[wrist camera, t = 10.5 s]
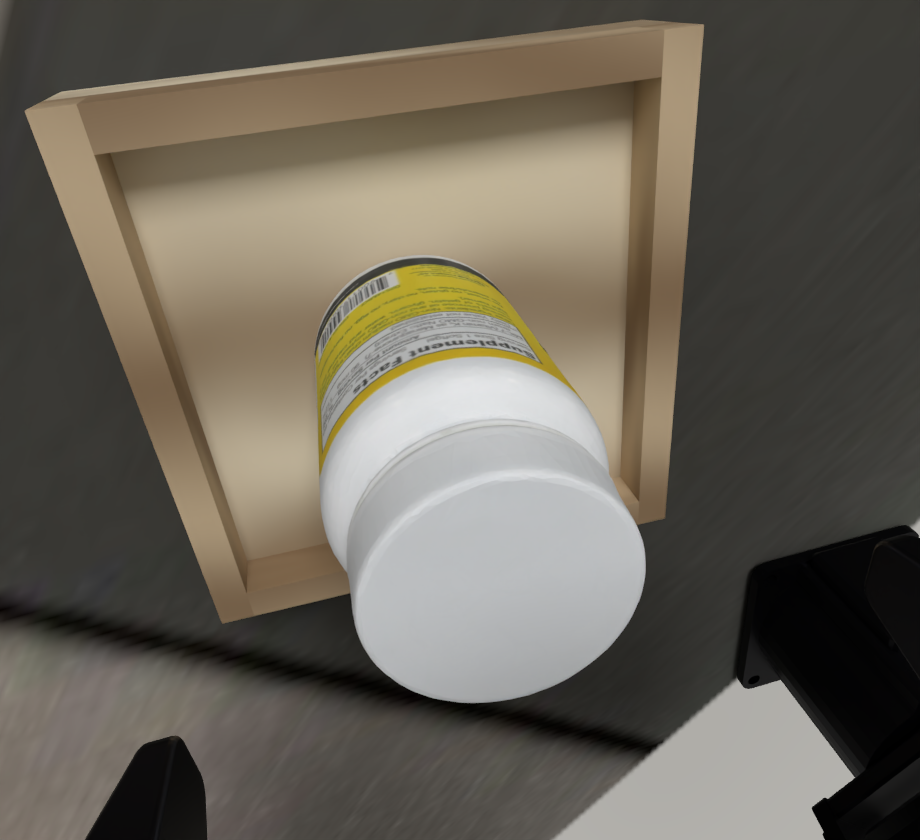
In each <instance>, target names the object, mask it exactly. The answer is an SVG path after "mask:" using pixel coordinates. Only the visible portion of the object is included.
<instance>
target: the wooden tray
mask: <svg viewBox="0 0 920 840" xmlns="http://www.w3.org/2000/svg"><path fill="white" fill-rule="evenodd" d="M703 31H704V25H701V24H688V23H676V22H663V21H650V20H636V21H628V22H620V23H612V24H604V25H596V26H588V27H580V28H572V29H564V30H556V31H548V32H540V33H532V34H523V35H515V36H507V37H499V38H491V39H483V40H475V41H467V42H459V43H451V44H443V45H435V46H427V47H419V48H411V49H402V50H394V51H386V52H378V53H370V54H362V55H354V56H346V57H338V58H330V59H322V60H314V61H306V62H298V63H290V64H281V65H273V66H265V67H257V68H249V69H241V70H233V71H225V72H217V73H209V74H201V75H193V76H185V77H177V78H169V79H160V80H152V81H144V82H136V83H128V84H120V85H112V86H104V87H96V88H88V89H80V90H72V91H64V92H60V93H58V94H56V95H54V96H52V97H50V98H48V99H46V100H44V101H42V102H41V103H39V104H37V105H35V106H33V107H31V108H29V109H27V110H25V113H26V116H27V119H28V121H29V124H30V126H31V129H32V132H33V134H34V137H35V139H36V142H37V145H38V147H39V150H40V152H41V155H42V157H43V160H44V163H45V165H46V168H47V170H48V173H49V176H50V178H51V181H52V183H53V186H54V189H55V191H56V194H57V196H58V199H59V202H60V204H61V207H62V209H63V212H64V215H65V217H66V220H67V222H68V225H69V228H70V230H71V233H72V235H73V238H74V241H75V243H76V246H77V248H78V251H79V253H80V256H81V259H82V261H83V264H84V266H85V269H86V272H87V274H88V277H89V279H90V282H91V285H92V287H93V290H94V292H95V295H96V298H97V300H98V303H99V305H100V308H101V311H102V313H103V316H104V318H105V321H106V324H107V326H108V329H109V331H110V334H111V337H112V339H113V342H114V344H115V347H116V350H117V352H118V355H119V357H120V360H121V362H122V365H123V368H124V370H125V373H126V375H127V378H128V381H129V383H130V386H131V388H132V391H133V394H134V396H135V399H136V401H137V404H138V407H139V409H140V412H141V414H142V417H143V420H144V422H145V425H146V427H147V430H148V433H149V435H150V438H151V440H152V443H153V446H154V448H155V451H156V453H157V456H158V458H159V461H160V464H161V466H162V469H163V471H164V474H165V477H166V479H167V482H168V484H169V487H170V490H171V492H172V495H173V497H174V500H175V503H176V505H177V508H178V510H179V513H180V516H181V518H182V521H183V523H184V526H185V529H186V531H187V534H188V536H189V539H190V542H191V544H192V547H193V549H194V552H195V555H196V557H197V560H198V562H199V565H200V567H201V570H202V573H203V575H204V578H205V580H206V583H207V586H208V588H209V591H210V593H211V596H212V599H213V601H214V604H215V606H216V609H217V612H218V614H219V617H220V619H221V622H222V624H223V623H227V622H231V621H235V620H240V619H244V618H248V617H252V616H256V615H261V614H265V613H269V612H273V611H277V610H282V609H286V608H290V607H294V606H298V605H303V604H307V603H311V602H315V601H319V600H324V599H328V598H332V597H336V596H340V595H345V594H349V593H350V585H349V578H348V574H347V572H346V571H345V570H344V568H343V567H342V565H341V564H340V562H339V561H338V559H337V558H336V556H335V555H334V553H333V551H332V549H331V546H330V544H329V542H328V539H327V536H326V532H325V529H324V524H323V520H322V513H321V504H320V484H319V454H318V425H317V403H316V378H315V360H314V355H315V343H316V338H317V333H318V329H319V326H320V323H321V321H322V318H323V316H324V314H325V312H326V310H327V308H328V307H329V305H330V303H331V302H332V300H333V299H334V298H335V297H336V295H337V294H338V293H339V292H340V291H341V289H342V288H343V287H344V286H345V285H346V284H347V283H349V282H350V281H351V280H352V279H353V278H354V277H356V276H357V275H359V274H360V273H362V272H363V271H365V270H367V269H368V268H370V267H373V266H375V265H377V264H379V263H382V262H385V261H387V260H390V259H394V258H398V257H405V256H411V255H434V256H441V257H445V258H450V259H453V260H456V261H459V262H462V263H464V264H466V265H468V266H470V267H472V268H474V269H475V270H477V271H478V272H480V273H481V274H483V275H484V276H485V277H487V278H488V279H489V280H490V281H491V282H492V283H493V284H494V285H495V286H496V287H497V288H498V289H499V290H500V291H501V293H502V294H503V295H504V296H505V297H506V299H507V300H508V301H509V303H510V304H511V306H512V307H513V308H514V309H515V311H516V312H517V313H518V315H519V316H520V318H521V319H522V320H523V322H524V323H525V324H526V326H527V327H528V328H529V329H530V331H531V332H532V333H533V335H534V336H535V338H536V339H537V341H538V342H539V343H540V345H541V346H542V347H543V348H544V349H545V350H546V352H547V353H548V355H549V356H550V358H551V359H552V361H553V362H554V363H555V365H556V366H557V367H558V369H559V370H560V371H561V373H562V374H563V375H564V377H565V378H566V379H567V381H568V382H569V383H570V385H571V386H572V387H573V388H574V389H575V391H576V392H577V394H578V395H579V396H580V398H581V399H582V400H583V402H584V403H585V405H586V406H587V407H588V409H589V410H590V412H591V414H592V416H593V417H594V419H595V421H596V423H597V425H598V427H599V430H600V432H601V434H602V437H603V440H604V443H605V447H606V451H607V457H608V463H609V475H610V477H611V478H612V480H613V482H614V484H615V487H616V489H617V491H618V493H619V496H620V497H621V499H622V501H623V502H624V504H625V506H626V508H627V509H628V511H629V513H630V514H631V516H632V518H633V519H634V521H635V523H636V525H639V524H643V523H647V522H651V521H655V520H660V519H664V518H665V510H666V498H667V485H668V472H669V460H670V447H671V435H672V422H673V409H674V397H675V384H676V372H677V359H678V346H679V334H680V321H681V309H682V296H683V283H684V271H685V258H686V246H687V233H688V220H689V208H690V195H691V182H692V170H693V157H694V145H695V132H696V119H697V107H698V94H699V82H700V69H701V56H702V44H703Z"/></svg>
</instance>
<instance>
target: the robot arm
mask: <svg viewBox="0 0 920 840" xmlns="http://www.w3.org/2000/svg"><path fill="white" fill-rule="evenodd" d="M737 678H738V680H739V681H740V683H741V684H742V685H743V687H744V688H747V689H750V688H754V687H757V686H761V685H764V684H768V683H771V682H774V681H778V680H781V681H782V682H783V683H784V684H785V686H786V687H787V688H788V690H789V691H790V692H791V694H792V695H793V696H794V698H795V699H796V700H797V702H798V703H799V704H800V706H801V707H802V708H803V710H804V711H805V712H806V713H807V715H808V716H809V718H810V719H811V720H812V722H813V723H814V724H815V725H816V727H817V728H818V729H819V731H820V732H821V733H822V735H823V736H824V737H825V739H826V740H827V741H828V742H829V744H830V745H831V747H832V748H833V749H834V750H835V751H836V753H837V754H838V756H839V757H840V758H841V760H842V761H843V762H844V764H845V765H846V766H847V768H848V769H849V770H850V771H851V773H852V774H853V775H854V777H855V778H854V779H853V780H852V781H851V782H849V783H848V784H847V785H845V786H844V787H843V788H842V789H840V790H839V791H838V792H836V793H835V794H834V795H833V796H832V797H830V798H829V799H827V798H823V799H822V800H821V801H819V802H818V803H817V804H816V805H814V806H813V807H812V810H813V812H814V814H815V816H816V818H817V820H818V822H819V824H820V825H821V827H822V829H823V831H824V833H823V836H824V839H825V840H920V538H919V535H918V534H917V533H916V532H915V531H914V530H913V529H912V528H910V527H909V526H907V525H903V526H898V527H895V528H891V529H887V530H884V531H880V532H876V533H872V534H869V535H865V536H861V537H858V538H854V539H850V540H847V541H843V542H839V543H836V544H832V545H828V546H825V547H821V548H817V549H814V550H810V551H806V552H803V553H799V554H795V555H792V556H788V557H784V558H781V559H777V560H773V561H770V562H766V563H764V564H761V565H760V566H758V567H757V568H756V569H755V570H754V572H753V574H752V578H751V584H750V591H749V598H748V604H747V611H746V618H745V624H744V631H743V638H742V645H741V651H740V658H739V665H738V671H737ZM85 840H207V820H206V797H205V788H204V783H203V779H202V776H201V773H200V771H199V770H198V768H197V766H196V764H195V762H194V760H193V758H192V756H191V754H190V752H189V751H188V749H187V747H186V745H185V743H184V741H183V740H182V739H181V738H180V737H178V736H170V737H167V738H163V739H160V740H156V741H152V742H149V743H146V744H144V745H143V746H142V747H141V748H140V749H139V750H138V751H137V752H136V754H135V755H134V757H133V759H132V761H131V762H130V764H129V766H128V767H127V769H126V771H125V772H124V774H123V776H122V778H121V779H120V781H119V783H118V784H117V786H116V788H115V789H114V791H113V793H112V795H111V796H110V798H109V800H108V801H107V803H106V805H105V806H104V808H103V810H102V812H101V813H100V815H99V817H98V818H97V820H96V822H95V823H94V825H93V827H92V829H91V830H90V832H89V834H88V835H87V837H86V839H85Z"/></svg>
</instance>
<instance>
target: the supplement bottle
mask: <svg viewBox="0 0 920 840" xmlns="http://www.w3.org/2000/svg"><path fill="white" fill-rule="evenodd" d="M314 360H315V378H316V403H317V425H318V454H319V484H320V504H321V513H322V520H323V524H324V529H325V532H326V536H327V539H328V542H329V544H330V546H331V549H332V551H333V553H334V555H335V556H336V558H337V559H338V561H339V562H340V564H341V565H342V567H343V568H344V570H345V571H346V572H347V574H348V578H349V585H350V593H351V602H352V611H353V617H354V622H355V627H356V630H357V634H358V636H359V639H360V641H361V643H362V646H363V647H364V649H365V650H366V652H367V654H368V655H369V657H370V658H371V659H372V661H373V662H374V663H375V664H376V666H377V667H378V668H380V669H381V670H382V671H383V672H384V673H385V674H386V675H388V676H389V677H391V678H392V679H393V680H395V681H396V682H397V683H399V684H400V685H402V686H404V687H406V688H408V689H409V690H412V691H414V692H416V693H419V694H422V695H425V696H428V697H431V698H434V699H440V700H446V701H453V702H460V703H485V702H496V701H503V700H509V699H514V698H519V697H523V696H527V695H530V694H533V693H536V692H539V691H541V690H544V689H547V688H549V687H552V686H554V685H556V684H558V683H560V682H562V681H564V680H566V679H568V678H570V677H571V676H573V675H575V674H576V673H578V672H579V671H580V670H582V669H583V668H585V667H586V666H587V665H589V664H590V663H591V662H593V661H594V660H595V659H596V658H598V657H599V656H600V655H601V654H602V653H603V652H605V651H606V650H607V649H608V648H609V647H610V646H611V645H612V644H613V642H614V641H615V640H616V639H617V638H618V636H619V635H620V634H621V632H622V631H623V630H624V628H625V627H626V625H627V624H628V622H629V620H630V619H631V617H632V615H633V613H634V611H635V609H636V606H637V604H638V602H639V600H640V597H641V593H642V590H643V585H644V580H645V571H646V563H645V550H644V545H643V541H642V538H641V535H640V532H639V530H638V528H637V525H636V523H635V521H634V519H633V518H632V516H631V514H630V513H629V511H628V509H627V508H626V506H625V504H624V502H623V501H622V499H621V497H620V496H619V493H618V491H617V489H616V487H615V484H614V482H613V480H612V478H611V477H610V475H609V463H608V457H607V451H606V447H605V443H604V440H603V437H602V434H601V432H600V430H599V427H598V425H597V423H596V421H595V419H594V417H593V416H592V414H591V412H590V410H589V409H588V407H587V406H586V405H585V403H584V402H583V400H582V399H581V398H580V396H579V395H578V394H577V392H576V391H575V389H574V388H573V387H572V386H571V385H570V383H569V382H568V381H567V379H566V378H565V377H564V375H563V374H562V373H561V371H560V370H559V369H558V367H557V366H556V365H555V363H554V362H553V361H552V359H551V358H550V356H549V355H548V353H547V352H546V350H545V349H544V348H543V347H542V346H541V345H540V343H539V342H538V341H537V339H536V338H535V336H534V335H533V333H532V332H531V331H530V329H529V328H528V327H527V326H526V324H525V323H524V322H523V320H522V319H521V318H520V316H519V315H518V313H517V312H516V311H515V309H514V308H513V307H512V306H511V304H510V303H509V301H508V300H507V299H506V297H505V296H504V295H503V294H502V293H501V291H500V290H499V289H498V288H497V287H496V286H495V285H494V284H493V283H492V282H491V281H490V280H489V279H488V278H487V277H485V276H484V275H483V274H481V273H480V272H478V271H477V270H475V269H474V268H472V267H470V266H468V265H466V264H464V263H462V262H459V261H456V260H453V259H450V258H445V257H441V256H434V255H411V256H405V257H398V258H394V259H390V260H387V261H385V262H382V263H379V264H377V265H375V266H373V267H370V268H368V269H367V270H365V271H363V272H362V273H360V274H359V275H357V276H356V277H354V278H353V279H352V280H351V281H350V282H349V283H347V284H346V285H345V286H344V287H343V288H342V289H341V291H340V292H339V293H338V294H337V295H336V297H335V298H334V299H333V300H332V302H331V303H330V305H329V307H328V308H327V310H326V312H325V314H324V316H323V318H322V321H321V323H320V326H319V329H318V333H317V338H316V343H315V355H314Z"/></svg>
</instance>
